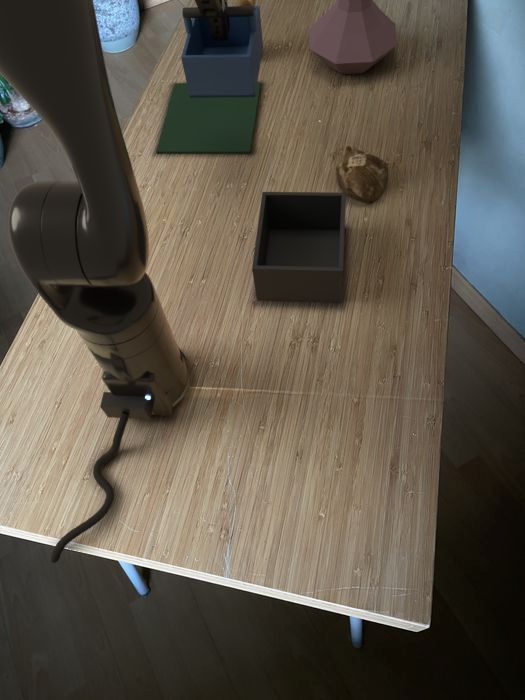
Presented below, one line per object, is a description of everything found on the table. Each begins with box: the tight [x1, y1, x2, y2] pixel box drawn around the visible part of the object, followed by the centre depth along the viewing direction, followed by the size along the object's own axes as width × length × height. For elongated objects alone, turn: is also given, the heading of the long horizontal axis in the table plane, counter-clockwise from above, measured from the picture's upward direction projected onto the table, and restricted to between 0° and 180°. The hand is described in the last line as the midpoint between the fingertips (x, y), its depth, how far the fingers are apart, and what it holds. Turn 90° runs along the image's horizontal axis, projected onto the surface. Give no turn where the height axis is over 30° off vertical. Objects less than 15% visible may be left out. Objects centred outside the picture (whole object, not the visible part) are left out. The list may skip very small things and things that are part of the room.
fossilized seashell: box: [335, 145, 390, 203], centre depth 90 cm, size 8×7×10 cm
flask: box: [308, 0, 398, 75], centre depth 99 cm, size 16×16×20 cm
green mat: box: [155, 81, 262, 155], centre depth 103 cm, size 18×16×1 cm
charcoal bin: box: [251, 191, 347, 304], centre depth 82 cm, size 14×12×8 cm
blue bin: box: [180, 5, 264, 98], centre depth 79 cm, size 11×10×9 cm
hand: (221, 34), depth 78 cm, fingers closed on blue bin, 1 cm apart
